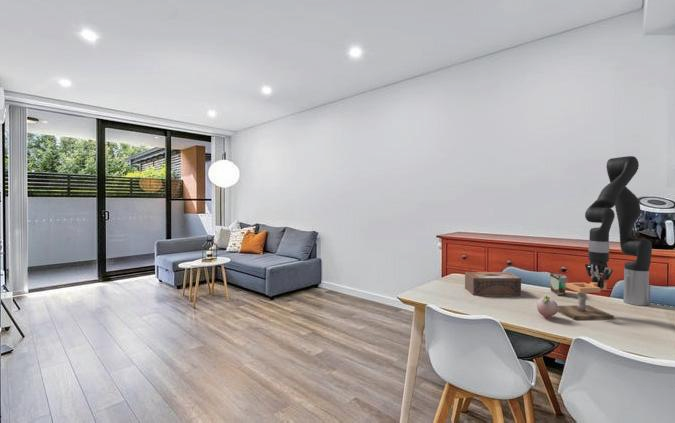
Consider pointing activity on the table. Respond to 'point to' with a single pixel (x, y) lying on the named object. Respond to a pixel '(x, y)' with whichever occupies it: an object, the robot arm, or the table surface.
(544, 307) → the decorative fruit
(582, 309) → the keeper
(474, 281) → the tissue box cover
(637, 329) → the table surface
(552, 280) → the food container
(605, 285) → the link
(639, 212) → the robot arm
